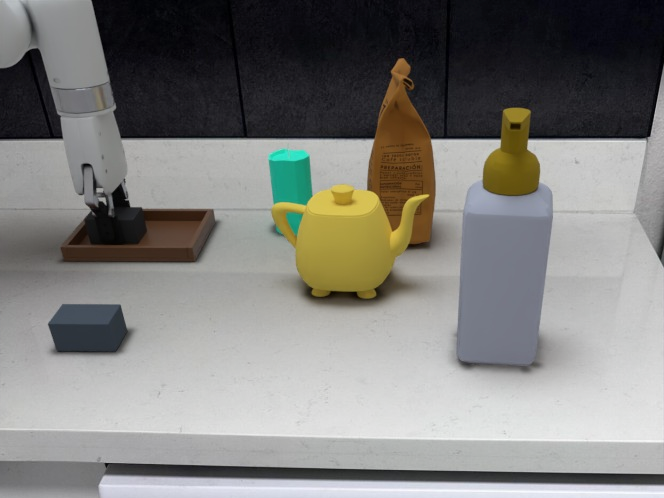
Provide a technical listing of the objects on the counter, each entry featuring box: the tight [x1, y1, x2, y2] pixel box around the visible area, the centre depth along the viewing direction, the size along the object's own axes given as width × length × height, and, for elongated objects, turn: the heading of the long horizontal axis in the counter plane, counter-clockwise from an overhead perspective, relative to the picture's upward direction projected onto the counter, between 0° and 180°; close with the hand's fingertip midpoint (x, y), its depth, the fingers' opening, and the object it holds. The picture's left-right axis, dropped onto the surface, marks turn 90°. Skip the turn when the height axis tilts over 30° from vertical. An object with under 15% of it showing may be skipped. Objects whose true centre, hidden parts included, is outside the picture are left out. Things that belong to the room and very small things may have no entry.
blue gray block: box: [47, 303, 128, 352], centre depth 93 cm, size 7×5×4 cm
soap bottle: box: [455, 107, 554, 367], centre depth 84 cm, size 9×9×25 cm
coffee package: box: [366, 58, 437, 245], centre depth 110 cm, size 10×12×22 cm
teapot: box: [270, 183, 429, 300], centre depth 101 cm, size 13×20×12 cm
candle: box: [268, 142, 314, 237], centre depth 115 cm, size 6×6×12 cm
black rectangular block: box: [83, 206, 147, 244], centre depth 115 cm, size 7×5×4 cm
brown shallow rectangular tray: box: [59, 208, 216, 263], centre depth 115 cm, size 19×15×2 cm
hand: (118, 234), depth 116 cm, fingers closed on black rectangular block, 4 cm apart
